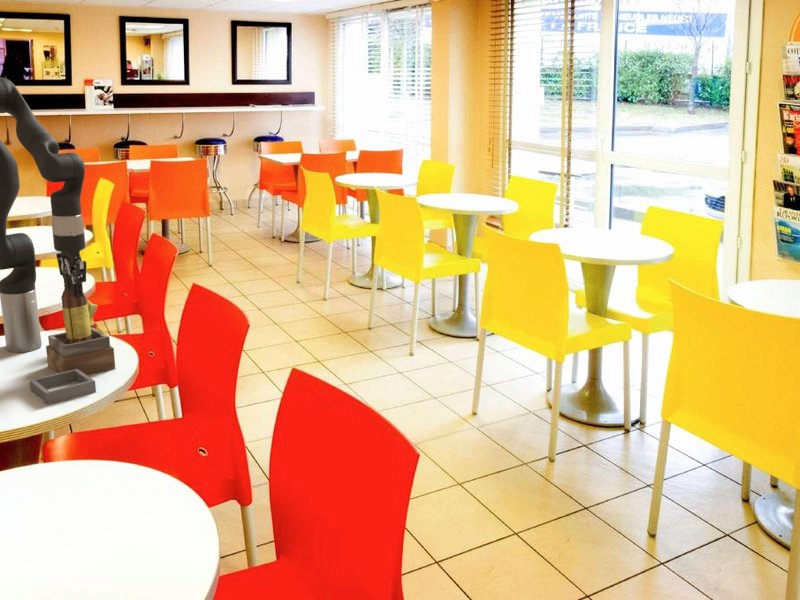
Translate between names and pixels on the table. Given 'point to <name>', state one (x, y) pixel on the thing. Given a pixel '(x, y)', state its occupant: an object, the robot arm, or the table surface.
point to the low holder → (65, 393)
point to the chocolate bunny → (92, 310)
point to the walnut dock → (80, 353)
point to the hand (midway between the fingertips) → (74, 294)
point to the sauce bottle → (75, 313)
